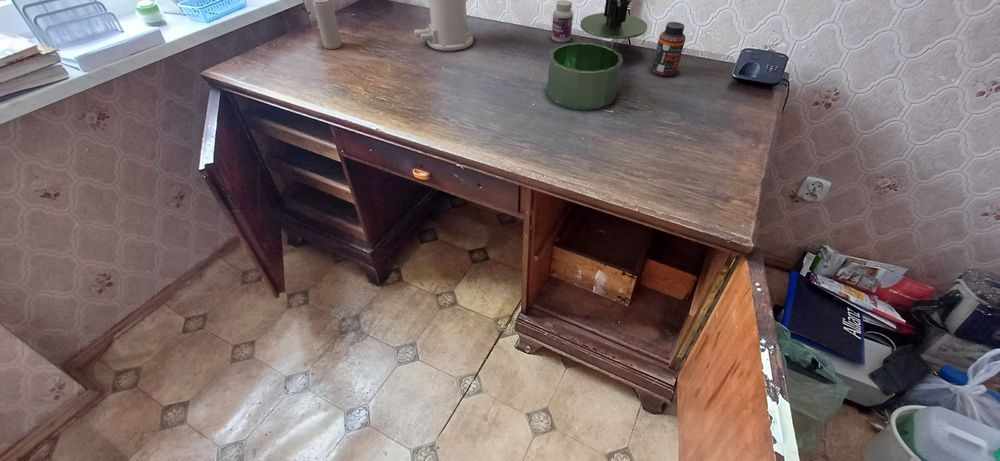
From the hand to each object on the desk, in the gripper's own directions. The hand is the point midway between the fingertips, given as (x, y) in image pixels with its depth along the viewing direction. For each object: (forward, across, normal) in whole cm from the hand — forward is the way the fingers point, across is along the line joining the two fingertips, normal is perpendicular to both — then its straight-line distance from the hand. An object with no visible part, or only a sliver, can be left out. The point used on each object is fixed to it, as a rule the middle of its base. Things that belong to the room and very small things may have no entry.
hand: (614, 18), depth 117 cm
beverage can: (+9, -27, -69) cm, 75 cm away
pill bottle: (+9, -13, -8) cm, 18 cm away
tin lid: (+2, 0, 0) cm, 2 cm away
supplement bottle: (+9, +14, +8) cm, 18 cm away
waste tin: (+9, +18, -16) cm, 26 cm away
